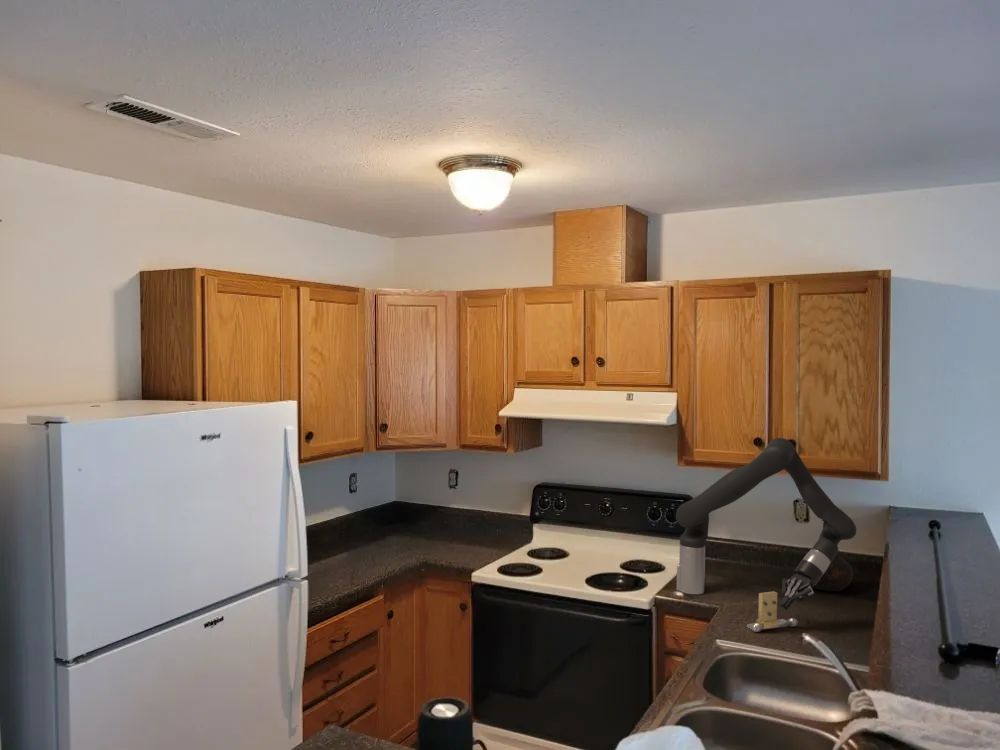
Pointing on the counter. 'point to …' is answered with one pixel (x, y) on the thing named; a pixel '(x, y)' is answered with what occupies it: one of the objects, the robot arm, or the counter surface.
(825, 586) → the glass bottle
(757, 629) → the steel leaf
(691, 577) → the robot arm
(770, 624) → the yellow bracket with holes
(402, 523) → the counter surface
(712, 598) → the counter surface
